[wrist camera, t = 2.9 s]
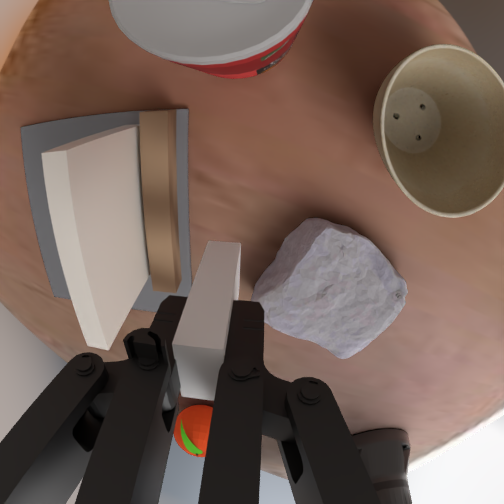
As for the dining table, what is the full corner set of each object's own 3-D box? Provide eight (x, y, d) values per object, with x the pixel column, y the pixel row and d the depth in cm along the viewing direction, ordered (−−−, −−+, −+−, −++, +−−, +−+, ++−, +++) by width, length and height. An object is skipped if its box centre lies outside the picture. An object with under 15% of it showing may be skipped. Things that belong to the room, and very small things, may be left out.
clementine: (164, 392, 35) (151, 439, 29) (213, 385, 34) (204, 437, 27) (194, 423, 39) (186, 466, 32) (240, 419, 37) (235, 464, 31)
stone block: (305, 196, 25) (241, 295, 27) (323, 208, 20) (245, 324, 23) (401, 262, 28) (342, 342, 30) (428, 283, 23) (359, 372, 26)
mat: (193, 314, 29) (193, 316, 28) (55, 294, 29) (54, 296, 29) (188, 108, 20) (187, 109, 20) (22, 126, 20) (20, 127, 20)
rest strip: (181, 279, 26) (176, 293, 25) (159, 277, 26) (152, 290, 25) (176, 109, 20) (168, 110, 18) (150, 110, 20) (139, 112, 18)
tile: (154, 267, 26) (108, 350, 17) (136, 265, 26) (85, 345, 17) (145, 123, 20) (66, 150, 11) (123, 125, 20) (39, 153, 11)
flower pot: (477, 101, 18) (535, 114, 11) (428, 202, 22) (473, 242, 16) (378, 29, 16) (422, 8, 10) (324, 145, 21) (348, 168, 14)
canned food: (283, 88, 19) (298, 80, 9) (170, 73, 19) (88, 62, 9) (303, -7, 15) (331, -81, 6) (190, -20, 15) (132, -89, 5)
